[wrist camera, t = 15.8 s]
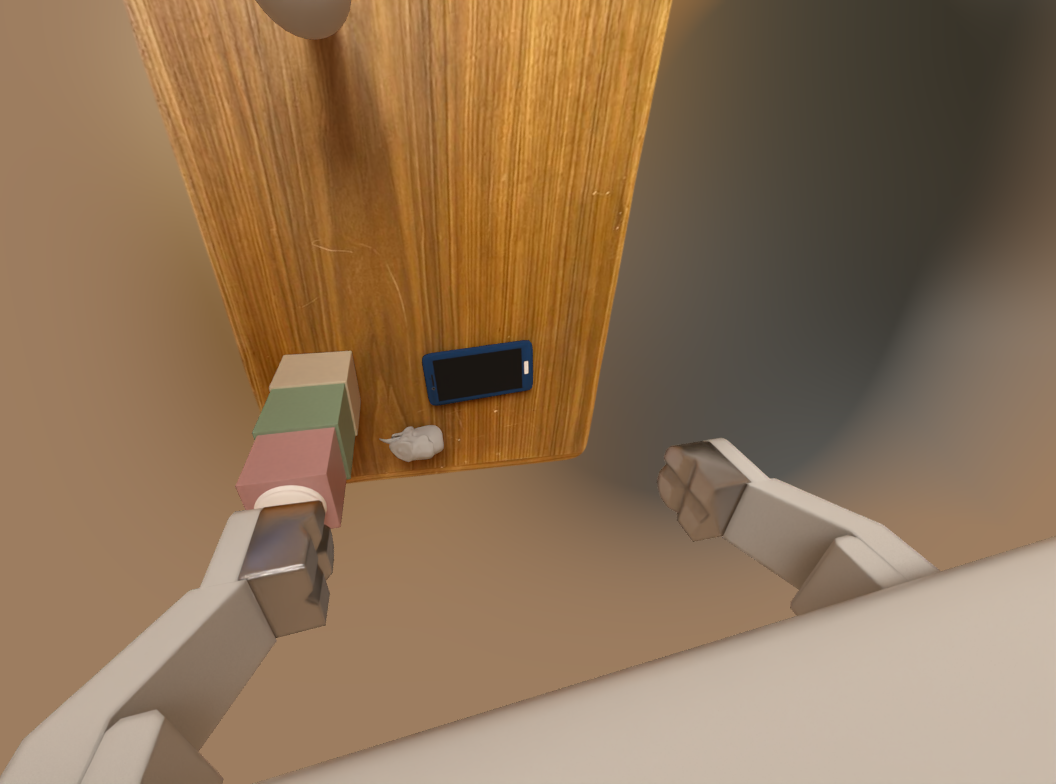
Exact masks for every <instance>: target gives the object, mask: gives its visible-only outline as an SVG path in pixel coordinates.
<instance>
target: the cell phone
mask: <svg viewBox="0 0 1056 784" xmlns="http://www.w3.org/2000/svg"><path fill="white" fill-rule="evenodd" d="M422 365H423V370H424V376H425V381H426V387H427V393H428V398H429V401H430V403H431V404H432V405H444V404H450V403H456V402H462V401H467V400H473V399H479V398H485V397H491V396H497V395H503V394H509V393H515V392H520V391H526V390H530V389H531V388H532V385H533V349H532V343H531V342H530V341H529V340H522V341H515V342H508V343H500V344H493V345H486V346H479V347H472V348H465V349H458V350H450V351H443V352H436V353H430V354H427V355H425V356H423V358H422Z"/></svg>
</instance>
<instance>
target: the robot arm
mask: <svg viewBox="0 0 1056 784" xmlns="http://www.w3.org/2000/svg"><path fill="white" fill-rule="evenodd" d="M664 460H665V462H666V463H667V464H666V465H665V466H664V468H663V469H661V471H660V472H659V476H658V480H657V484H658V491H659V494H660V496H661V499H662V500H663V502H664V503H665V505H666V506H667V507H668V508H670V509H672V510H674V511H675V512H677V514H678V515H677V521H678V522H679V524H680V525H681V526H682V528H683V529H684V530H685V532H686V533H687V534H688V536H689V537H690V539H691V540H692V541H693V542H694V541H699V540H704V539H710V538H715V537H719V536H723V537H722V538H723V539H725V540H727V541H728V542H729V543H731V544H732V545H734V546H735V547H737V548H738V549H740V550H741V551H742V552H744V553H746V554H747V555H749V556H750V557H751V558H753V559H754V560H756V561H757V562H759V563H760V564H762V565H763V566H765V567H766V568H768V569H769V570H771V571H772V572H774V573H775V574H776V575H778V576H779V577H781V578H782V579H784V580H785V581H787V582H788V583H790V584H791V585H793V586H794V587H796V588H797V589H799V591H798V592H797V594H796V595H795V597H794V598H793V600H792V601H791V607H790V608H791V609H792V610H793V612H794V613H795V614H796V615H797V616H795V617H792V618H788V619H785V620H782V621H779V622H775V623H772V624H769V625H766V626H763V627H759V628H756V629H753V630H749V631H746V632H743V633H740V634H736V635H733V636H730V637H727V638H724V639H721V640H717V641H714V642H711V643H708V644H704V645H701V646H698V647H694V648H691V649H688V650H684V651H681V652H678V653H675V654H671V655H669V656H665V657H662V658H658V659H655V660H652V661H649V662H645V663H643V664H639V665H636V666H633V667H629V668H626V669H623V670H620V671H616V672H613V673H610V674H607V675H603V676H600V677H597V678H594V679H591V680H587V681H584V682H581V683H577V684H574V685H571V686H568V687H564V688H561V689H558V690H555V691H552V692H548V693H545V694H542V695H539V696H535V697H532V698H529V699H526V700H522V701H519V702H516V703H512V704H509V705H506V706H503V707H500V708H496V709H493V710H490V711H487V712H484V713H480V714H477V715H474V716H470V717H467V718H464V719H461V720H457V721H454V722H451V723H448V724H444V725H441V726H438V727H435V728H432V729H428V730H425V731H422V732H418V733H415V734H412V735H409V736H406V737H402V738H399V739H396V740H393V741H389V742H386V743H383V744H380V745H376V746H373V747H370V748H367V749H364V750H360V751H357V752H354V753H351V754H347V755H344V756H341V757H337V758H334V759H331V760H328V761H325V762H321V763H318V764H315V765H312V766H308V767H305V768H302V769H299V770H296V771H292V772H289V773H286V774H283V775H279V776H276V777H273V778H270V779H266V780H263V781H260V782H257V783H253V784H1056V536H1054V537H1051V538H1048V539H1044V540H1041V541H1038V542H1035V543H1032V544H1028V545H1025V546H1022V547H1019V548H1016V549H1012V550H1009V551H1006V552H1002V553H999V554H996V555H993V556H990V557H986V558H983V559H980V560H976V561H974V562H970V563H967V564H964V565H961V566H957V567H954V568H950V569H947V570H944V571H940V570H939V569H937V568H936V567H935V566H934V565H932V564H931V563H930V562H929V561H927V560H926V559H925V558H924V557H922V556H921V555H920V554H919V553H918V552H916V551H915V550H914V549H912V548H911V547H910V546H909V545H907V544H906V543H905V542H904V541H903V540H901V539H900V538H899V537H898V536H896V535H895V534H894V533H893V532H891V531H890V530H889V529H888V528H886V527H885V526H884V525H882V524H880V523H878V522H875V521H873V520H871V519H868V518H866V517H864V516H861V515H859V514H857V513H854V512H852V511H850V510H847V509H845V508H843V507H840V506H838V505H836V504H833V503H831V502H829V501H826V500H824V499H822V498H820V497H817V496H815V495H813V494H810V493H808V492H806V491H803V490H801V489H799V488H796V487H794V486H792V485H789V484H787V483H785V482H782V481H780V480H778V479H776V478H775V479H769V478H768V477H767V476H766V475H765V474H764V473H763V472H762V471H761V470H760V469H758V468H757V467H756V466H755V465H754V464H753V463H752V462H751V461H750V460H749V459H747V458H746V457H745V456H744V455H743V454H742V453H741V452H740V451H739V450H738V449H737V448H735V447H734V446H733V445H732V444H731V443H730V442H729V441H728V440H725V439H723V438H717V439H711V440H705V441H700V442H693V443H688V444H681V445H675V446H670V447H669V448H668V449H667V451H666V453H665V456H664ZM325 513H326V512H325V509H324V507H323V504H322V501H320V500H316V501H308V502H300V503H293V504H285V505H277V506H270V507H264V508H259V509H251V510H243V511H235V512H234V513H233V515H232V516H230V518H229V519H228V521H227V523H226V526H225V528H224V531H223V533H222V535H221V538H220V540H219V543H218V545H217V548H216V550H215V552H214V555H213V557H212V559H211V562H210V565H209V567H208V569H207V572H206V574H205V576H204V579H203V581H202V584H201V586H200V588H198V589H194V590H190V591H188V592H187V593H186V594H185V595H184V596H183V597H182V598H181V599H179V601H177V602H176V603H175V604H174V605H173V606H172V607H171V608H169V609H168V610H167V611H166V612H165V613H164V614H163V615H162V616H161V617H159V618H158V619H157V620H156V621H155V622H154V623H153V624H151V625H150V626H149V627H148V628H147V629H146V630H145V631H144V632H143V633H141V634H140V635H139V636H138V637H137V638H136V639H135V640H134V641H133V642H131V643H130V644H129V645H128V646H127V647H126V648H125V649H124V650H122V651H121V652H120V653H119V654H118V655H117V656H116V657H115V658H114V659H112V660H111V661H110V662H109V663H108V664H107V665H106V666H105V667H104V668H102V669H101V670H100V671H99V672H98V673H97V674H96V675H95V676H93V677H92V678H91V679H90V680H89V681H88V682H87V683H86V684H85V685H83V686H82V687H81V688H80V689H79V690H78V691H77V692H76V693H74V694H73V696H71V697H70V698H69V699H68V700H67V701H65V702H64V703H63V704H62V705H61V706H60V707H59V708H58V709H57V710H55V711H54V712H53V713H52V714H51V715H50V716H49V717H48V718H46V719H45V720H44V721H43V722H42V723H41V724H40V725H39V726H38V727H36V728H35V729H34V730H33V731H32V732H31V733H30V734H29V735H28V736H26V737H25V738H24V739H23V740H22V742H21V744H20V745H19V747H18V748H17V750H16V752H15V754H14V755H13V757H12V758H11V760H10V762H9V764H8V765H7V767H6V768H5V770H4V772H3V774H2V775H1V777H0V784H222V783H223V778H222V776H221V775H220V774H219V772H218V771H217V770H216V769H215V768H214V767H213V766H212V765H211V764H210V763H209V762H208V761H207V760H206V759H205V758H204V757H203V756H202V755H201V754H200V753H199V750H200V749H201V748H202V746H203V745H204V743H205V742H206V740H207V739H208V738H209V736H210V734H211V733H212V732H213V730H214V729H215V728H216V726H217V725H218V723H219V722H220V721H221V719H222V717H223V716H224V715H225V713H226V712H227V711H228V709H229V708H230V706H231V705H232V703H233V702H234V701H235V699H236V698H237V696H238V695H239V694H240V692H241V691H242V689H243V688H244V686H245V685H246V683H247V682H248V681H249V679H250V678H251V676H252V675H253V674H254V672H255V671H256V669H257V668H258V667H259V665H260V664H261V662H262V661H263V659H264V658H265V657H266V655H267V654H268V652H269V651H270V649H271V648H272V646H273V645H274V644H275V642H276V638H278V637H281V636H286V635H290V634H294V633H298V632H302V631H305V630H309V629H313V628H317V627H321V626H325V625H326V618H327V610H328V603H329V595H330V593H329V590H328V586H327V583H326V580H327V579H328V578H329V576H330V575H331V574H332V571H333V562H334V545H333V538H332V533H331V530H330V527H328V526H327V525H325V524H324V520H325Z"/></svg>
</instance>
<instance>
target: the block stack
mask: <svg viewBox="0 0 1056 784" xmlns="http://www.w3.org/2000/svg"><path fill="white" fill-rule="evenodd" d="M269 390H270V394H269V396H268V398H267V400H266V403H265V405H264V407H263V409H262V412H261V414H260V416H259V418H258V421H257V423H256V425H255V427H254V429H253V432H252V434H253V437H254V440H255V441H254V444H253V446H252V449H251V451H250V453H249V455H248V458H247V460H246V462H245V465H244V467H243V470H242V472H241V474H240V476H239V479H238V481H237V484H236V486H235V487H236V489H237V492H238V494H239V496H240V498H241V501H242V503H243V505H244V507H245V510H251V509H254V505H255V502H256V500H257V499H258V498H259V497H260V496H261V495H262V494H263V493H265V492H266V491H268V490H270V489H273V488H276V487H279V486H286V485H297V486H303V487H307V488H310V489H312V490H314V491H316V492H318V493H319V494H320V495H321V496H322V497H323V498H324V500H325V501H326V505H327V511H326V514H325V520H324V524H325V525H327V526H328V527H330V529H332V528H338V527H341V519H342V511H343V503H344V494H345V486H346V480H347V479H351V470H352V460H353V451H354V442H355V436H357V435H358V426H359V416H360V406H361V399H360V393H359V388H358V382H357V377H356V372H355V366H354V361H353V355H352V351H341V352H325V353H309V354H294V355H284V356H283V358H282V360H281V362H280V364H279V367H278V369H277V371H276V373H275V375H274V377H273V380H272V382H271V384H270V386H269Z"/></svg>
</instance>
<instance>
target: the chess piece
mask: <svg viewBox="0 0 1056 784" xmlns="http://www.w3.org/2000/svg"><path fill="white" fill-rule="evenodd" d="M316 500H320V501H322V504H323V507H324V509H325V512H326V511H327V505H326V501H325V500H324V498H323V497H322V496H321V495H320V494H319V493H318V492H316V491H314V490H312V489H310V488H307V487H303V486H297V485H286V486H279V487H276V488H273V489H270V490H268V491H266V492H265V493H263V494H262V495H261V496H260V497H259V498H258V499H257V500H256V502H255V505H254V509H259V508H264V507H270V506H277V505H285V504H293V503H300V502H308V501H316ZM325 514H326V513H325Z"/></svg>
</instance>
